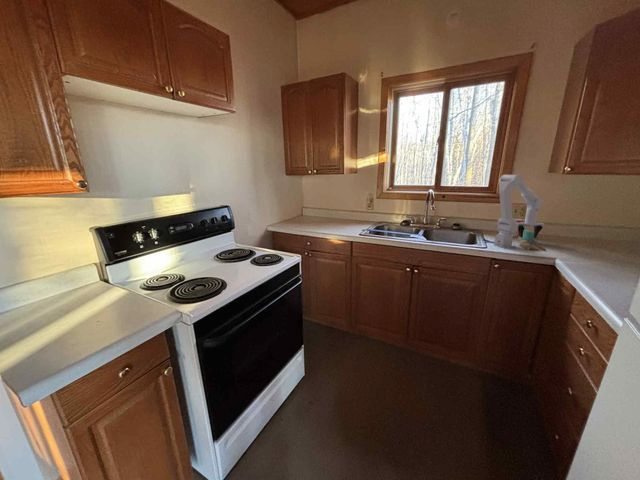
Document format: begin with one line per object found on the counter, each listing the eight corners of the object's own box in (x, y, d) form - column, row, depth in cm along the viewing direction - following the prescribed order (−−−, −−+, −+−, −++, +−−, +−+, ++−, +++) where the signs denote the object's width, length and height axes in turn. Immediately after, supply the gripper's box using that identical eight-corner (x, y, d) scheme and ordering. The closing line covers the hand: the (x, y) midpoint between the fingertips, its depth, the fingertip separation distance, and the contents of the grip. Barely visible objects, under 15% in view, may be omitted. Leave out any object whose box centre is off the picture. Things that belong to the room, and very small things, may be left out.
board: (528, 243, 170) (530, 233, 169) (522, 240, 179) (523, 229, 177) (532, 243, 170) (534, 233, 168) (525, 240, 178) (527, 229, 177)
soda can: (518, 237, 189) (521, 220, 185) (507, 235, 194) (509, 219, 191) (522, 236, 193) (525, 219, 189) (511, 234, 198) (513, 218, 195)
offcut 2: (525, 249, 159) (526, 245, 159) (522, 247, 164) (523, 243, 163) (529, 250, 159) (530, 245, 158) (526, 248, 163) (527, 243, 162)
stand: (525, 245, 170) (526, 241, 169) (517, 240, 181) (518, 236, 180) (536, 246, 168) (537, 241, 168) (527, 241, 180) (528, 236, 179)
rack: (525, 251, 159) (525, 248, 159) (518, 246, 169) (518, 243, 168) (545, 252, 157) (546, 249, 156) (537, 247, 166) (538, 244, 165)
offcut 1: (522, 247, 164) (523, 242, 163) (519, 245, 168) (520, 240, 167) (526, 247, 163) (527, 242, 162) (523, 245, 167) (524, 240, 166)
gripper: (520, 217, 168) (517, 238, 172) (548, 217, 165) (544, 239, 168) (516, 215, 175) (512, 235, 178) (542, 215, 171) (538, 236, 175)
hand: (527, 237), depth 174 cm, fingers open, 7 cm apart
